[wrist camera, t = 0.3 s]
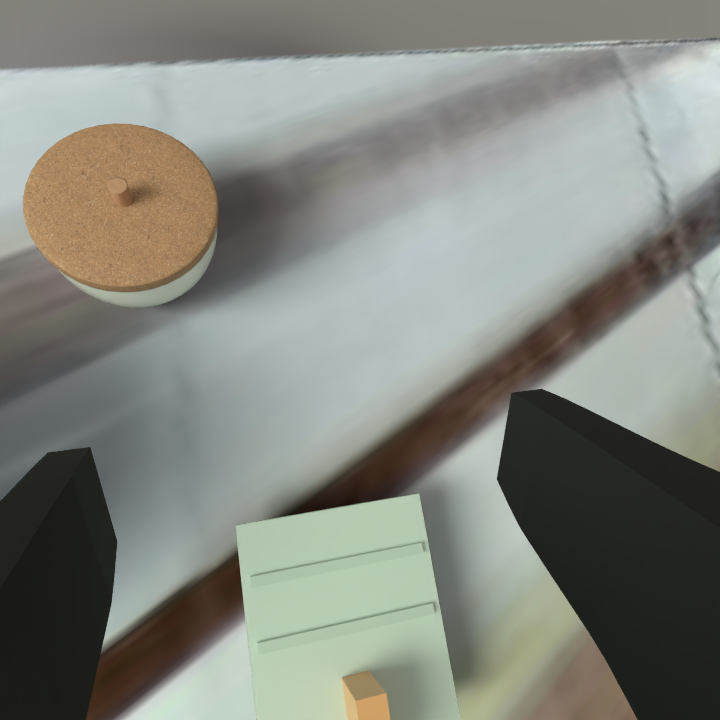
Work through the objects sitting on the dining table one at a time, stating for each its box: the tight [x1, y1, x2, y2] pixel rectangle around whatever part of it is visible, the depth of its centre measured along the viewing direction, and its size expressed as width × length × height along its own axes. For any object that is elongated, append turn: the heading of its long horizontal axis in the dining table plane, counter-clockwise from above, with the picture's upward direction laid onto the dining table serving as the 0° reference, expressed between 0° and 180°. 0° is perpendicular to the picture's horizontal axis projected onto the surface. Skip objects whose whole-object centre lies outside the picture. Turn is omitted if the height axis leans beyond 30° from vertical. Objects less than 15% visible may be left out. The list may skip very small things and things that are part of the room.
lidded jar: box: [23, 124, 219, 308], centre depth 35 cm, size 11×11×9 cm
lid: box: [236, 494, 460, 720], centre depth 31 cm, size 13×11×6 cm
